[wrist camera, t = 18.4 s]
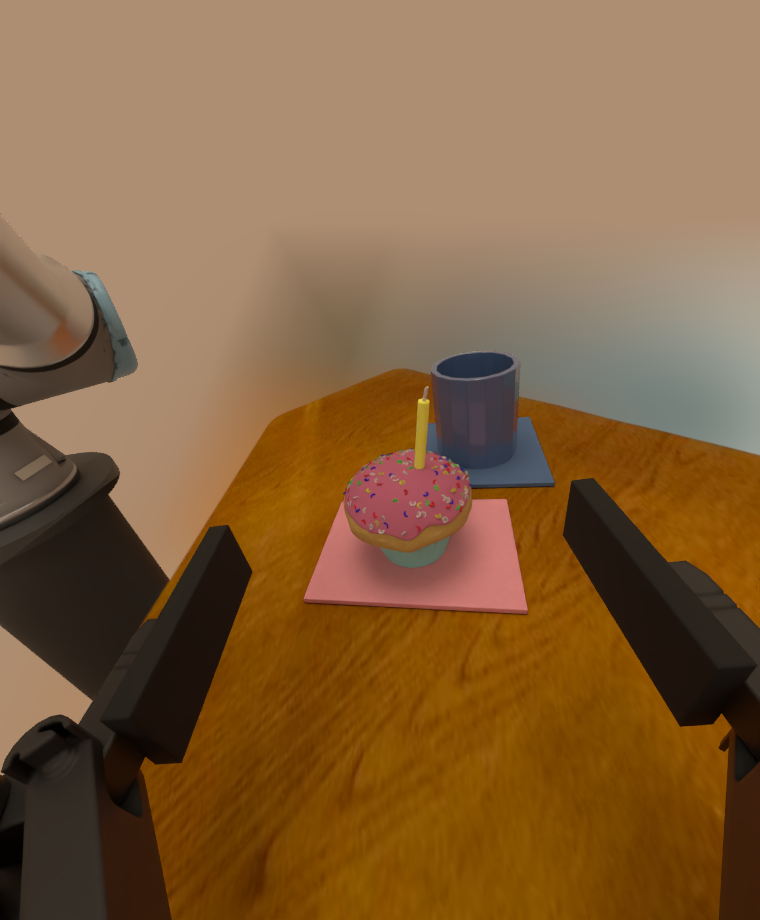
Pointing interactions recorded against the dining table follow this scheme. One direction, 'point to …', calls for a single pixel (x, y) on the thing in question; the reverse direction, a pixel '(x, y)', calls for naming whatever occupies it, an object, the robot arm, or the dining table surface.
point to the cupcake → (409, 501)
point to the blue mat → (509, 462)
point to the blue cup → (476, 407)
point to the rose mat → (427, 569)
